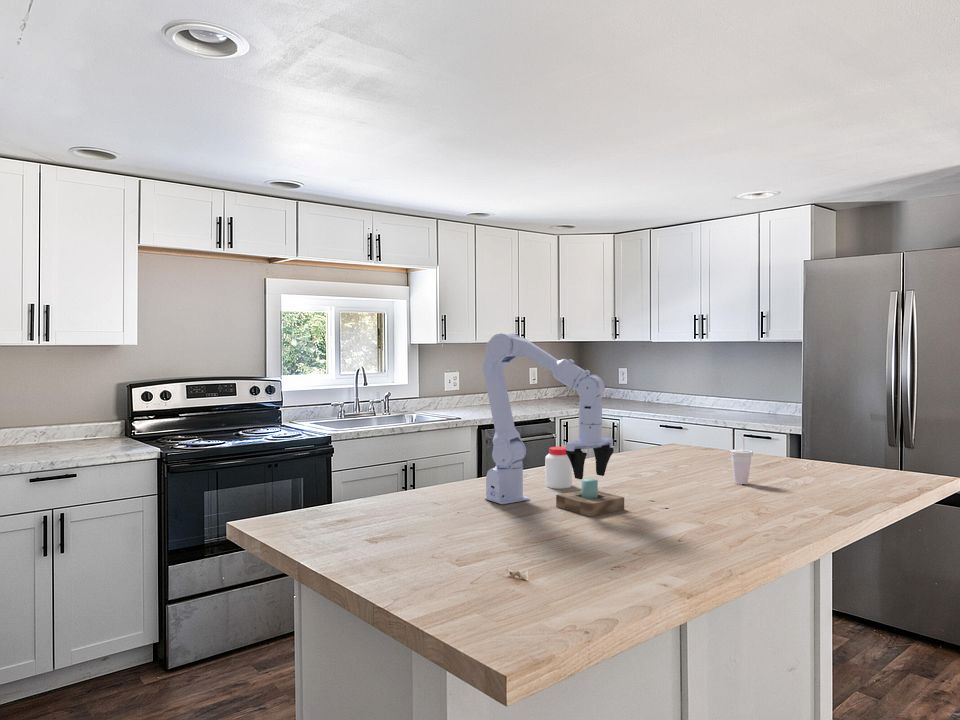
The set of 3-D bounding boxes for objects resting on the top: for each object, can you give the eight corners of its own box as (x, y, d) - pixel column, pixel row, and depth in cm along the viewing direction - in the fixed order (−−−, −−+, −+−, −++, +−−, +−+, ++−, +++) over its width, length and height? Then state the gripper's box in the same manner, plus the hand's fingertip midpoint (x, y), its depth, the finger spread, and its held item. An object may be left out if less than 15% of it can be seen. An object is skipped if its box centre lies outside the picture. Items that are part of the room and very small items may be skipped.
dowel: (588, 510, 167) (588, 482, 167) (578, 507, 170) (578, 479, 170) (600, 508, 169) (600, 480, 169) (590, 505, 172) (590, 478, 172)
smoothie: (756, 485, 195) (756, 437, 195) (733, 485, 195) (734, 437, 195) (747, 481, 201) (748, 434, 201) (726, 481, 201) (726, 434, 201)
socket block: (589, 516, 161) (589, 504, 161) (556, 506, 171) (556, 494, 171) (624, 509, 168) (624, 497, 168) (590, 500, 178) (590, 488, 178)
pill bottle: (563, 489, 190) (563, 451, 190) (540, 486, 195) (540, 448, 194) (576, 485, 196) (576, 447, 196) (553, 481, 201) (553, 445, 200)
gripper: (580, 427, 161) (579, 483, 162) (622, 423, 170) (621, 476, 170) (560, 423, 167) (560, 478, 167) (601, 420, 175) (601, 471, 176)
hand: (589, 476), depth 169 cm, fingers open, 7 cm apart
